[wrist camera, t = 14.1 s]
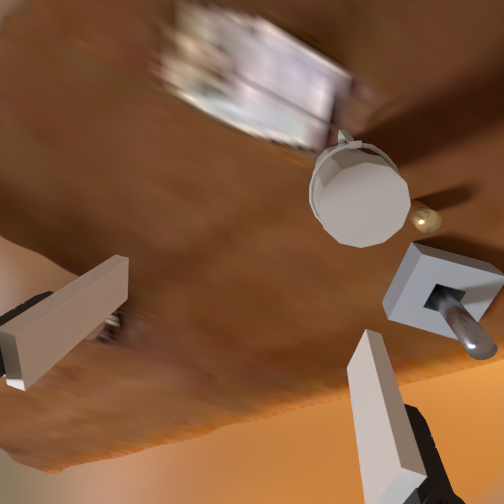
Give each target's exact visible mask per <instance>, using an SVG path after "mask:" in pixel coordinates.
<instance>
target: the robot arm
mask: <svg viewBox="0 0 504 504" xmlns="http://www.w3.org/2000/svg"><path fill="white" fill-rule="evenodd" d="M128 263H129V258H126V257H122V256H119V255H114V256H113V257H111V258H110V259H108V260H106V261H105V262H103V263H102V264H100V265H98V266H97V267H95V268H94V269H92V270H90V271H89V272H87V273H86V274H84V275H82V276H81V277H79V278H78V279H76V280H74V281H73V282H71V283H70V284H68V285H66V286H65V287H63V288H61V289H60V290H58V291H57V292H55V293H54V292H51V291H48V292H45V293H42V294H39V295H36V296H34V297H32V298H31V299H29V300H27V301H26V302H25V303H24V304H21V305H19V306H17V307H16V308H15V309H12V310H10V311H9V312H7V313H5V314H4V315H2V316H0V377H2V376H3V375H4V374H5V376H6V380H7V385H10V386H13V387H15V388H18V389H21V390H24V391H25V390H27V389H28V388H29V387H30V386H31V385H32V384H33V383H34V382H36V381H37V380H38V379H39V378H40V377H41V376H42V375H43V374H44V373H46V372H47V371H48V370H49V369H50V368H51V367H52V366H53V365H54V364H56V363H57V362H58V361H59V360H60V359H61V358H62V357H63V356H64V355H66V354H67V353H68V352H69V351H70V350H71V349H72V348H73V347H75V346H76V345H77V344H78V343H79V342H80V341H81V340H82V339H83V338H85V336H87V335H88V334H89V333H90V332H91V331H92V330H93V329H94V328H96V327H97V326H98V325H99V324H100V323H101V322H102V321H103V320H105V319H106V318H107V317H108V316H109V315H110V314H111V313H112V312H114V311H115V310H116V309H117V308H118V307H119V306H120V305H121V304H122V303H124V302H125V301H126V300H127V292H128ZM347 372H348V380H349V387H350V394H351V402H352V409H353V416H354V424H355V432H356V439H357V446H358V453H359V461H360V469H361V476H362V483H363V490H364V498H365V504H465V503H464V501H463V500H462V499H461V498H459V497H458V496H457V495H456V494H454V492H453V490H452V487H451V485H450V482H449V479H448V477H447V474H446V472H445V469H444V466H443V464H442V461H441V458H440V456H439V453H438V451H437V449H436V448H435V443H434V440H433V438H432V437H431V433H430V430H429V427H428V425H427V422H426V420H425V419H424V417H423V416H422V415H421V413H420V412H419V411H418V409H417V408H416V407H413V406H410V405H406V404H404V403H403V401H402V397H401V394H400V391H399V388H398V385H397V382H396V379H395V376H394V372H393V369H392V366H391V363H390V360H389V357H388V354H387V351H386V348H385V345H384V342H383V339H382V335H381V334H380V333H377V332H374V331H370V330H367V329H366V330H365V332H364V334H363V336H362V338H361V340H360V342H359V344H358V346H357V348H356V350H355V352H354V355H353V357H352V359H351V361H350V363H349V365H348V367H347Z"/></svg>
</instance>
